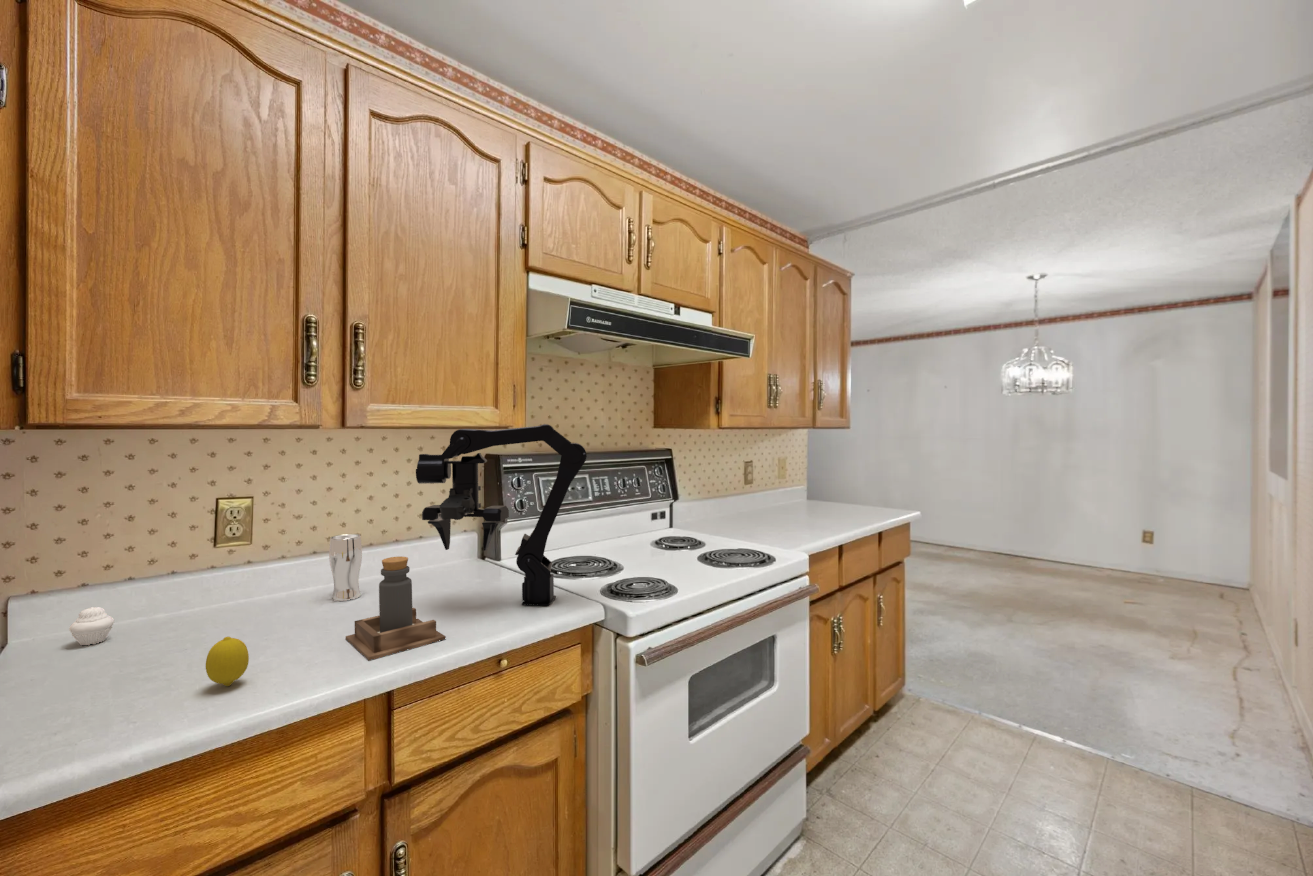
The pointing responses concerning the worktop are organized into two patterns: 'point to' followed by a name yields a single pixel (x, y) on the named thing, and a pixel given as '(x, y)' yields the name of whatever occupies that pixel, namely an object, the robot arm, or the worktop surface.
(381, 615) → the bottle
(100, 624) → the muffin
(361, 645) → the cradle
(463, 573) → the worktop surface
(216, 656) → the lemon
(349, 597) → the beer glass
